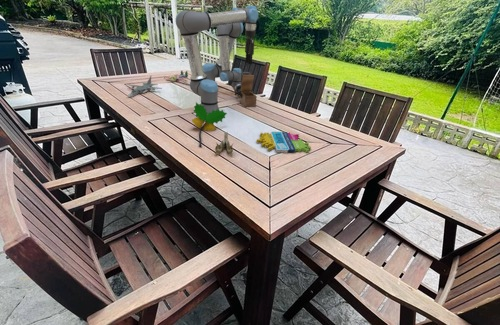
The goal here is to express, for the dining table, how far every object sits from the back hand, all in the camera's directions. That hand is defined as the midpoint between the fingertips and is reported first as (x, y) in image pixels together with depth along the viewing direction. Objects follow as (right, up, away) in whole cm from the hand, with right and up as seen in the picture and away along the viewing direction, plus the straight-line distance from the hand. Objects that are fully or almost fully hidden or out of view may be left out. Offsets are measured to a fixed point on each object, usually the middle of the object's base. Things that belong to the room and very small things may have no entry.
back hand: (247, 95), depth 213 cm
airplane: (-91, +7, +14) cm, 92 cm away
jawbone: (-11, -49, -75) cm, 90 cm away
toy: (-74, +34, +64) cm, 104 cm away
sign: (+21, -43, -61) cm, 78 cm away
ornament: (-23, -33, -49) cm, 64 cm away
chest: (0, -7, +1) cm, 7 cm away
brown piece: (0, +9, -3) cm, 9 cm away
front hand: (+1, +23, -11) cm, 25 cm away
